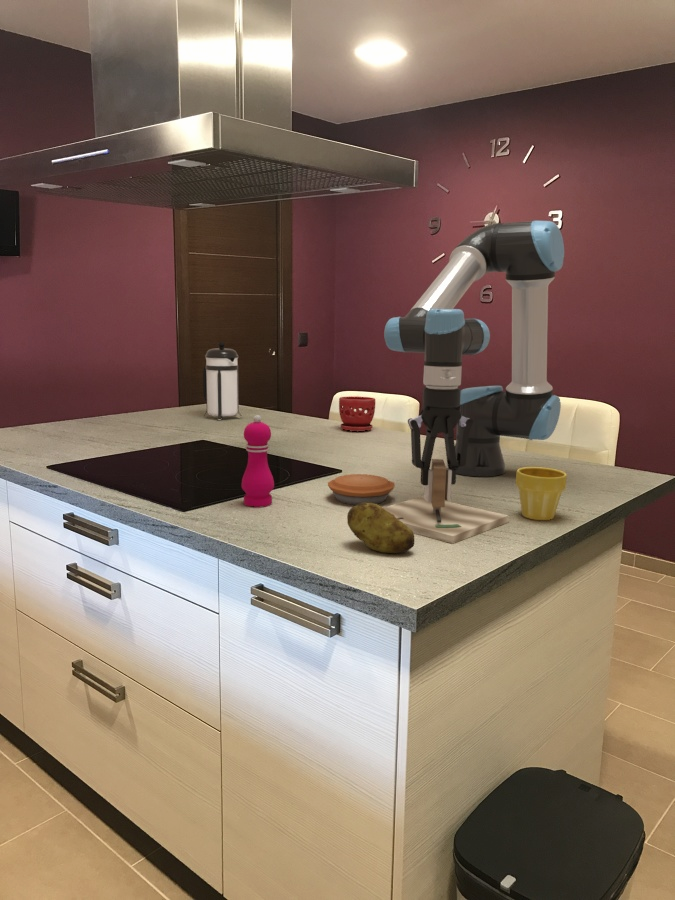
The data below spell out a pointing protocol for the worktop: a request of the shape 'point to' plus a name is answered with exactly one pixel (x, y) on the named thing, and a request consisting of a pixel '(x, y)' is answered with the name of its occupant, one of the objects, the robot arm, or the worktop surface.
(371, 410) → the plant pot
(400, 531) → the potato
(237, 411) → the coffee press
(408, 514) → the plate
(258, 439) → the pepper mill
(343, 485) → the pie
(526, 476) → the plant pot
